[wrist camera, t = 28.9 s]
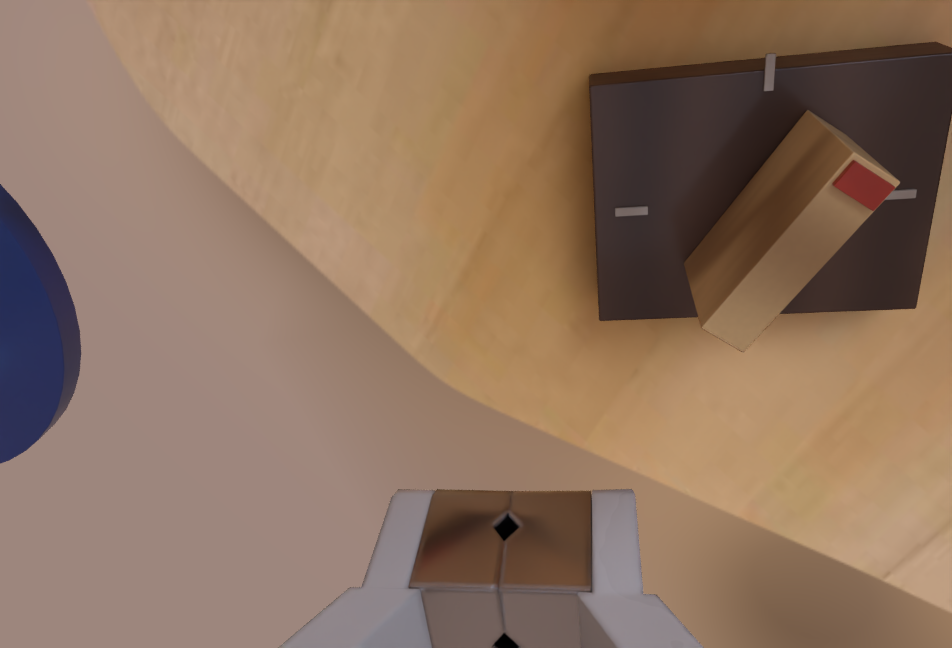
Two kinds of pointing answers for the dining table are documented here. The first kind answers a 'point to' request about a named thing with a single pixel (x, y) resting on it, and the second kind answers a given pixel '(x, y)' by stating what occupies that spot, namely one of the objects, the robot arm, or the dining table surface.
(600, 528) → the robot arm
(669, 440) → the dining table surface
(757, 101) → the dark flat block
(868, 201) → the wooden block
